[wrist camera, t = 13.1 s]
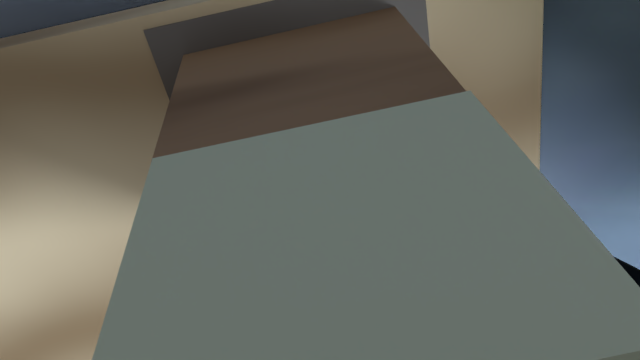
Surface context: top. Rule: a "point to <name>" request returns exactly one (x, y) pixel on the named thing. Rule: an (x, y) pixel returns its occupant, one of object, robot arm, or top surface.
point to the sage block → (366, 250)
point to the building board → (145, 125)
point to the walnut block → (300, 80)
